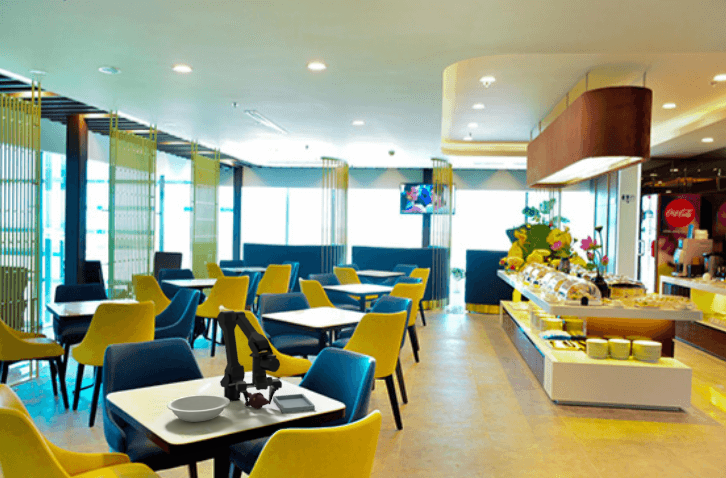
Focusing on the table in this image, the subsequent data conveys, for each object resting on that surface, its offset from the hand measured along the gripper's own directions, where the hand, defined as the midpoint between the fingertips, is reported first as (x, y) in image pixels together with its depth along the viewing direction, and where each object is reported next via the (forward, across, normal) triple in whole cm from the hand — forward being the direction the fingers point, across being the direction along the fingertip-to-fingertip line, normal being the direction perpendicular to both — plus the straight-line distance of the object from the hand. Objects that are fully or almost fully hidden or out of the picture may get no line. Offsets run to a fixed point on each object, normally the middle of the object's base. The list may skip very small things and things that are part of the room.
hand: (258, 405), depth 241 cm
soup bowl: (+2, -25, -7) cm, 26 cm away
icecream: (+2, 0, 0) cm, 2 cm away
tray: (+1, +15, 0) cm, 15 cm away
